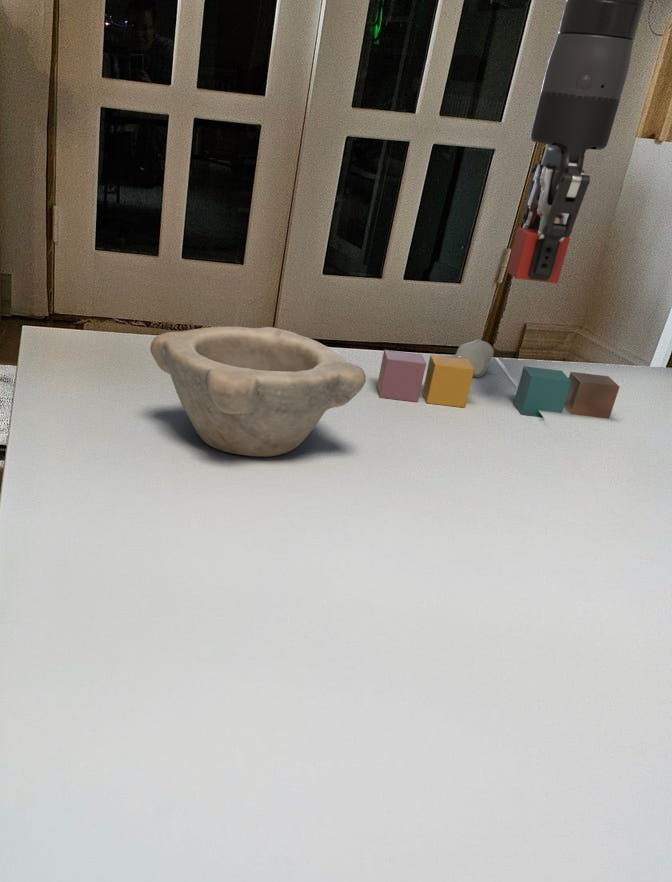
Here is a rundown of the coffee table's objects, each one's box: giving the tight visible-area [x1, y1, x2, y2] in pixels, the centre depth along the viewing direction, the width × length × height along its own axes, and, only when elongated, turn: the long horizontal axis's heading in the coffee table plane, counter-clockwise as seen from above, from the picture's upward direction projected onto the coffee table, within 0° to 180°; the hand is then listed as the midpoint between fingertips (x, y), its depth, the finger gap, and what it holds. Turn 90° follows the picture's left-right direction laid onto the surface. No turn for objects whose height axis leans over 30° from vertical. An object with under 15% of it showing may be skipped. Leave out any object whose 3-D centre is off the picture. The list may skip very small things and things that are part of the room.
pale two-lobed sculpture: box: [452, 338, 495, 378], centre depth 124 cm, size 4×8×5 cm
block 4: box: [563, 371, 621, 420], centre depth 110 cm, size 4×4×4 cm
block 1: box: [376, 349, 427, 403], centre depth 111 cm, size 4×4×4 cm
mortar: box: [149, 326, 366, 457], centre depth 90 cm, size 17×17×9 cm
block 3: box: [513, 365, 571, 418], centre depth 110 cm, size 4×4×4 cm
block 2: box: [422, 354, 474, 409], centre depth 110 cm, size 4×4×4 cm
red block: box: [506, 226, 571, 284], centre depth 100 cm, size 4×4×4 cm
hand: (532, 273), depth 101 cm, fingers closed on red block, 4 cm apart
